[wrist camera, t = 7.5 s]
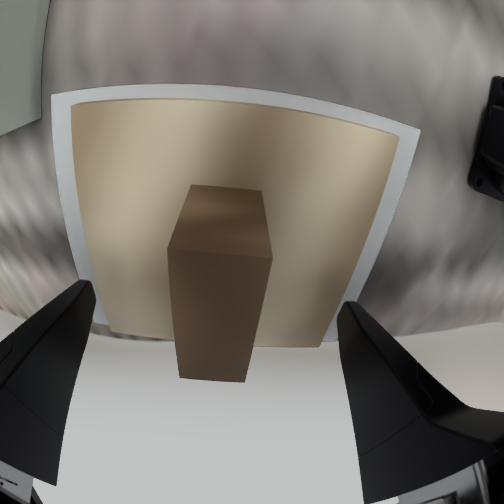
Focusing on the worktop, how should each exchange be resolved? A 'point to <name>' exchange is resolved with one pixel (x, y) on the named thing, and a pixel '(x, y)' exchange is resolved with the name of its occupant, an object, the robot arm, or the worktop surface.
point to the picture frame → (217, 92)
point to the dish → (21, 61)
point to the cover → (224, 221)
